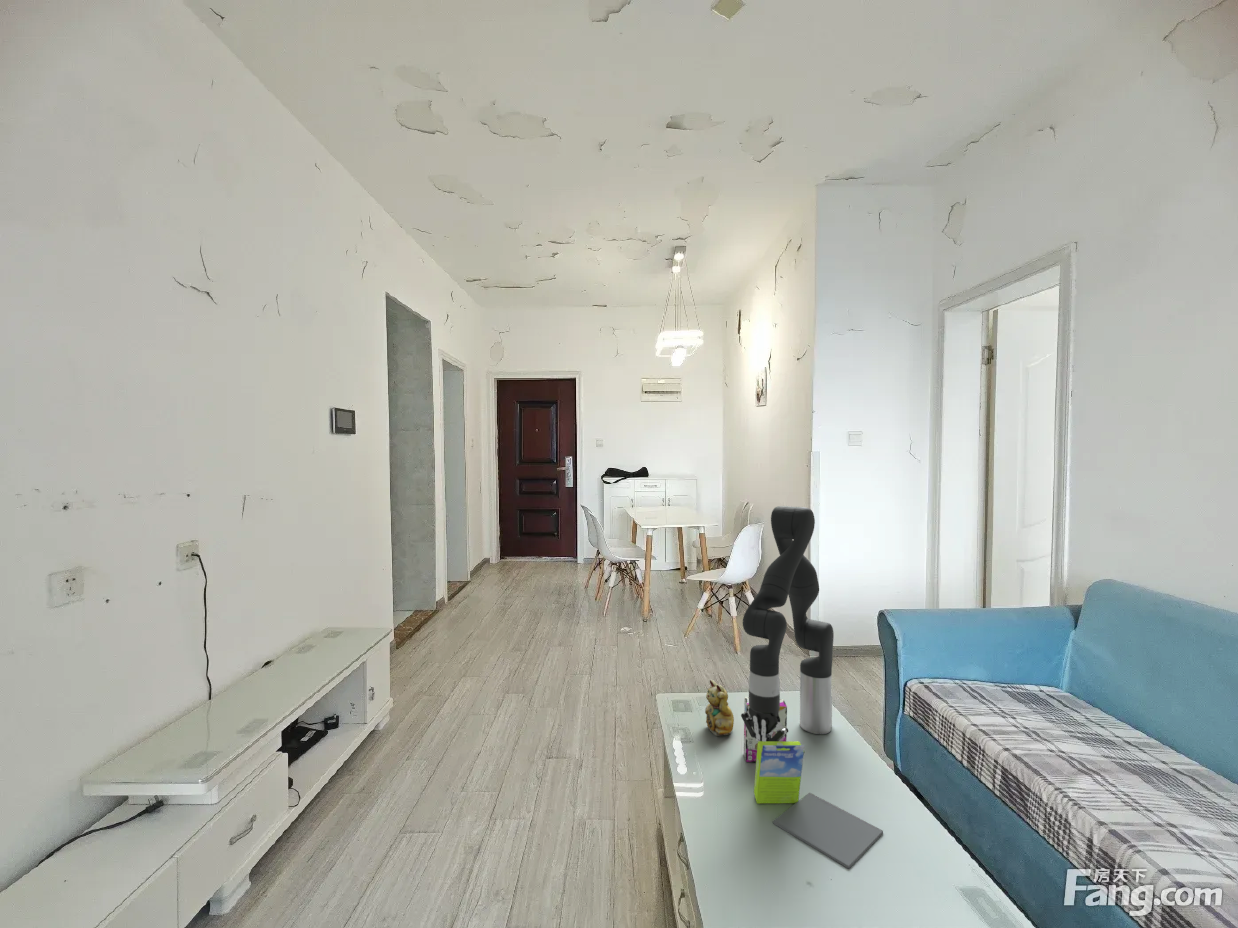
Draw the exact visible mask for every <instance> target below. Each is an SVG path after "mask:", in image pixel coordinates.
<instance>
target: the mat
mask: <svg viewBox="0 0 1238 928" xmlns="http://www.w3.org/2000/svg"><path fill="white" fill-rule="evenodd" d="M772 824H774V825H775V826H776V827H778V828H780V829H781V830H783V831H785V832H787V833H788V834H790V835H792V836H794V837H795V838H797V839H798V840H800V841H802V842H803V843H804V844H806V845H808V846H810V847H812V848H813V849H815V850H817V851H818V852H820V853H821V854H824V855H825V857H828V858H830V859H832V860H833V861H835V862H837V863H838V864H840V865H842V866H844V867H845V868H846V869H850V868H851V867H853V865H854V864H855V863H856V862H857V861H858V860H859V859H860V858H861V857H862V856H863V855H864V854H865V853H866V852H867V851H868V850H869V848H871V846H873V845H874V843H876V841H877V840H878V839H879V838H880V837H882V835H883V834H884V829H880V828H879V827H878V826H875V825H873V824H871V823H870V822H867V821H866V820H864V819H861V818H860V817H857V816H856V815H854V814H852V813H850V812H848V811H846V810H845V809H842V808H840V807H838V806H836V805H835V804H832V803H831V802H829V801H827V800H825V799H823V798H821V797H819V796H817V795H816V794H813V793H812V792H808V793H807V794H806V795H805V796H803V797H802V798H801V799H799V801H798V802H797V803H793V805H791V806H790V807H789V808H787V809H786V810H785V811H784V812H782V813H781V814H780V815H778V816H777V817H776V818H774V819H773V820H772Z"/></svg>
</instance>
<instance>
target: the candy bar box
mask: <svg viewBox="0 0 1238 928" xmlns="http://www.w3.org/2000/svg"><path fill="white" fill-rule="evenodd" d="M743 704H744V706H743V708H744V710H743V711H744V712H746V711H748V709H749V707H750V706H749V696H744V703H743ZM744 712H743V713H744ZM779 717H780V723H781V725H782V726H783V727H784V728H785V727H786V728H788V727H787V726H788V720H787V719H788V706H787V704H786V701H785V699H783V698H780V709H779ZM776 728H777V727H776ZM776 728H775V729H774V731H773V734H772V737H773V736H774V735H775V734H776V732H775V731H776ZM752 729H753V727H752ZM753 731H754V729H753ZM787 734H788V733H787ZM787 734H786V735H785V736H783V737H782V738H781V739H780V740H779V741H787V737H788V735H787ZM757 746H758V742H757V741H756V739H755V738H752V737H751V735H750V733H749V731H748V729H747V727H746V725H745V723H744V722H743V756H744V760H745V762H746V763H756V758H757Z"/></svg>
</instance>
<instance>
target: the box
mask: <svg viewBox="0 0 1238 928" xmlns="http://www.w3.org/2000/svg"><path fill="white" fill-rule="evenodd" d="M804 756H805V745H804V744H801V742H800V741H797V740H796V741H795V740H794V741H793V740H792V741H787V740H786V741H758V746H757V758H756V762H755V771H754V772H755V774H754V775H755V776H754V786H753V787H754V788H753V794H754V798H755V801H756V802H755V803H756V804H795V803H797V802H798V801H799V800H800V799H799V798H800V789H801V787H800V786H801V779H802V770H803V762H804Z"/></svg>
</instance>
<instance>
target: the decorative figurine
mask: <svg viewBox="0 0 1238 928" xmlns="http://www.w3.org/2000/svg"><path fill="white" fill-rule="evenodd" d="M709 684H710V687H709V688H708V689H707V692H706V695H705V698H706V700H707V703H708V704H707V705H706V707H705V710H704V713H705V715H706V718H705V719H706V721H705V723H706V725H707V728H708V730H709V731H710V732H711V733H712V734H713V735H714V736H715V737H718V736H724V737H725V736H729V735H731V733H732V732H733V730H734V724H735V723H734V722H735V721H734V720H735V718H734V713H733V711H732V709H731V708H730V706H729V702H728V700H729V699H728V698H729V694H728V692H727V690H726V688H724V686H722V685H721V684H717V682H716V681H714V680H713V679H709Z"/></svg>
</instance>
